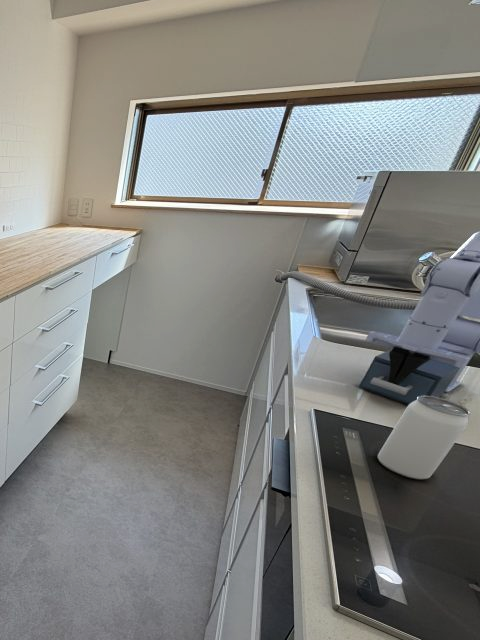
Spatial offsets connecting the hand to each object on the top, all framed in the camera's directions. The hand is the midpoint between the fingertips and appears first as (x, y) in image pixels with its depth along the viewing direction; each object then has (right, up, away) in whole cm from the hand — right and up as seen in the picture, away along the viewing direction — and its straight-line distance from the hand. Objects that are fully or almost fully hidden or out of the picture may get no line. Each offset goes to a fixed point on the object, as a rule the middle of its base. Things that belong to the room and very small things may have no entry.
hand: (392, 384), depth 85 cm
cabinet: (+8, -2, +6) cm, 10 cm away
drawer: (+4, -2, +4) cm, 6 cm away
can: (-17, -13, -18) cm, 28 cm away
